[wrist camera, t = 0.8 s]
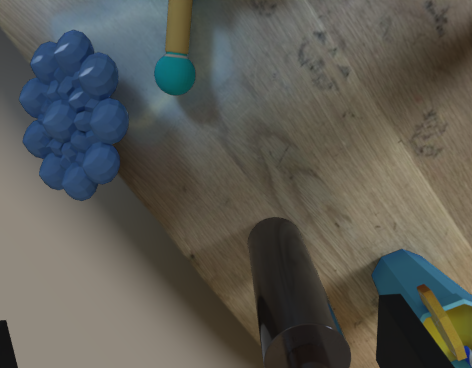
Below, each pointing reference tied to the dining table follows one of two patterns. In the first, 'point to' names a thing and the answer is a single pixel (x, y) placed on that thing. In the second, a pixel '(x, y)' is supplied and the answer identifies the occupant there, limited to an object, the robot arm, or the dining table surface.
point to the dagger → (176, 51)
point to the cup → (430, 301)
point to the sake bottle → (292, 301)
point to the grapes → (74, 115)
